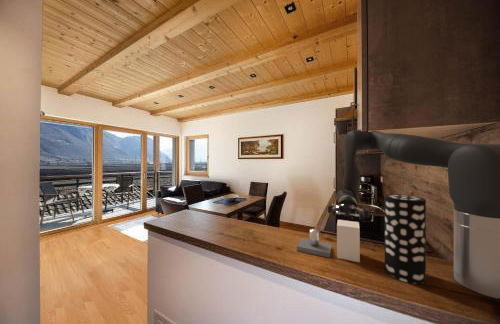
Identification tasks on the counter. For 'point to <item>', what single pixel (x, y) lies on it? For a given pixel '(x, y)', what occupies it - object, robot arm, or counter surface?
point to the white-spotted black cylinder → (405, 238)
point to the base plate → (314, 250)
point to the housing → (348, 240)
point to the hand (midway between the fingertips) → (347, 215)
